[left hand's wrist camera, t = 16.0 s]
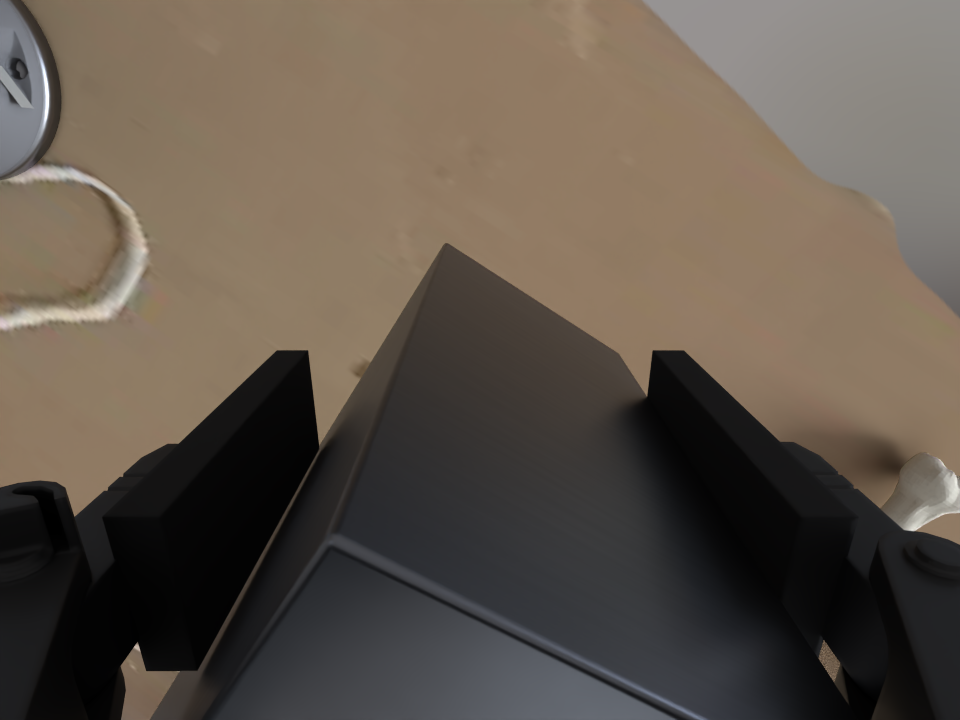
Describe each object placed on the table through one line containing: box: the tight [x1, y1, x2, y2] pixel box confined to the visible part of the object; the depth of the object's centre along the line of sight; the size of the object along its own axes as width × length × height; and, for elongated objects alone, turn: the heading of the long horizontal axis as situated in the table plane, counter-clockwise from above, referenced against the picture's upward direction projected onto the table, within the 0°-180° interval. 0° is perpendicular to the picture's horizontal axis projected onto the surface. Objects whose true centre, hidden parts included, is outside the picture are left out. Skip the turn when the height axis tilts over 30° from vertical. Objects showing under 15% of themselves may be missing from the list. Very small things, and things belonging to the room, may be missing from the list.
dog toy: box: [880, 452, 960, 531], centre depth 51 cm, size 20×6×5 cm, turn 148°
